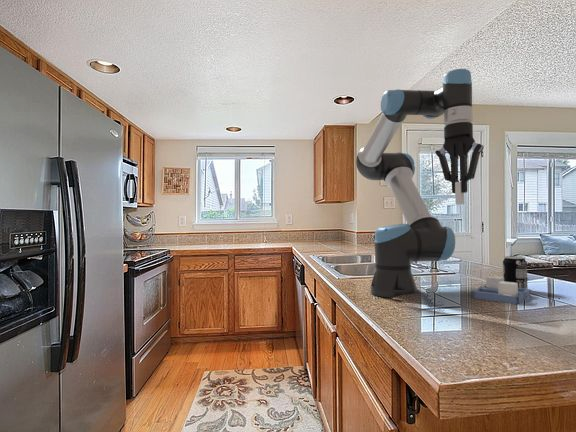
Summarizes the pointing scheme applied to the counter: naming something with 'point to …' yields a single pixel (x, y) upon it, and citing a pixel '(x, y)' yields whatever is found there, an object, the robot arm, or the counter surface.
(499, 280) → the tab far
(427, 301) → the counter surface
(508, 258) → the beverage can
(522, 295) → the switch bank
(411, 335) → the counter surface
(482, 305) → the counter surface
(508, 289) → the white block
